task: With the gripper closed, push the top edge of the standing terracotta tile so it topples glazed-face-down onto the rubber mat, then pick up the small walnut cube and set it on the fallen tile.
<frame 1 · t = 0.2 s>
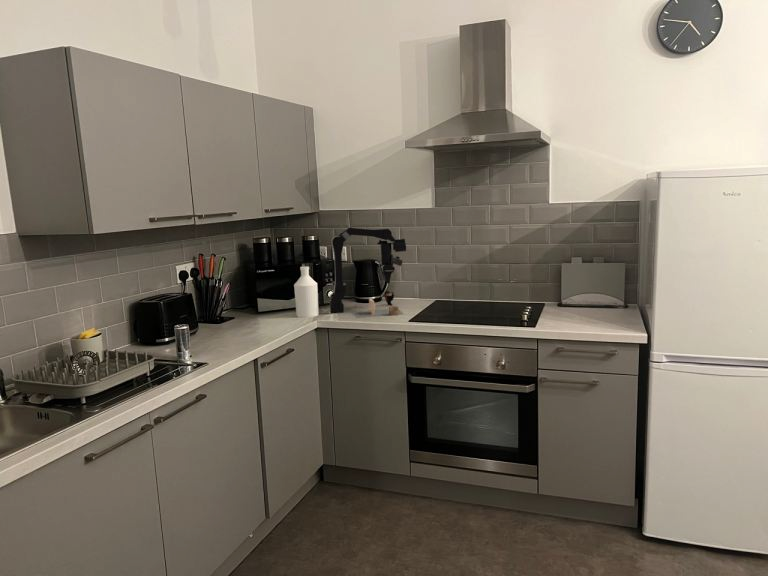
hand: (387, 282, 318), 14 cm above the countertop, tool pointing down, fingers open, 9 cm apart
tile: (371, 313, 308), resting on mat
mat: (377, 313, 309), on the countertop
bottle: (307, 315, 314), on the countertop
figurine: (390, 307, 327), on the countertop
cube: (393, 314, 303), on the countertop, touching mat
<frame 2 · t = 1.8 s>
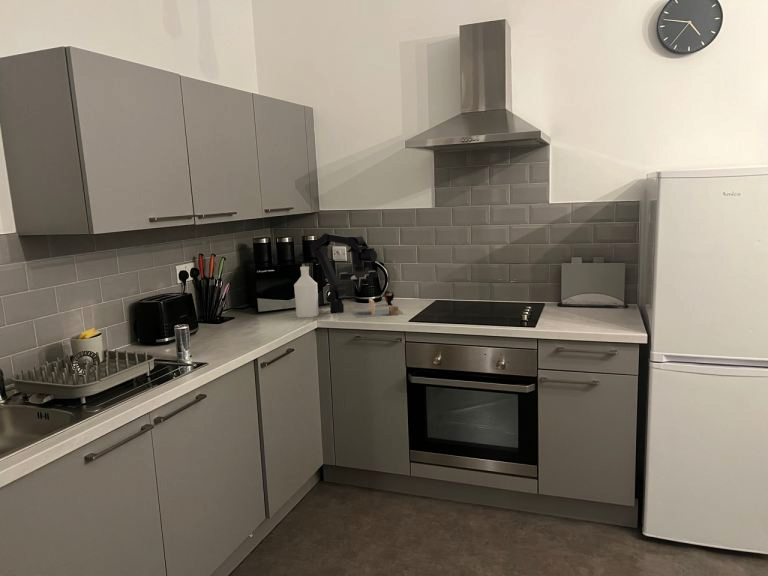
hand: (359, 291, 305), 12 cm above the countertop, tool pointing down, fingers closed
nothing on the countertop moved.
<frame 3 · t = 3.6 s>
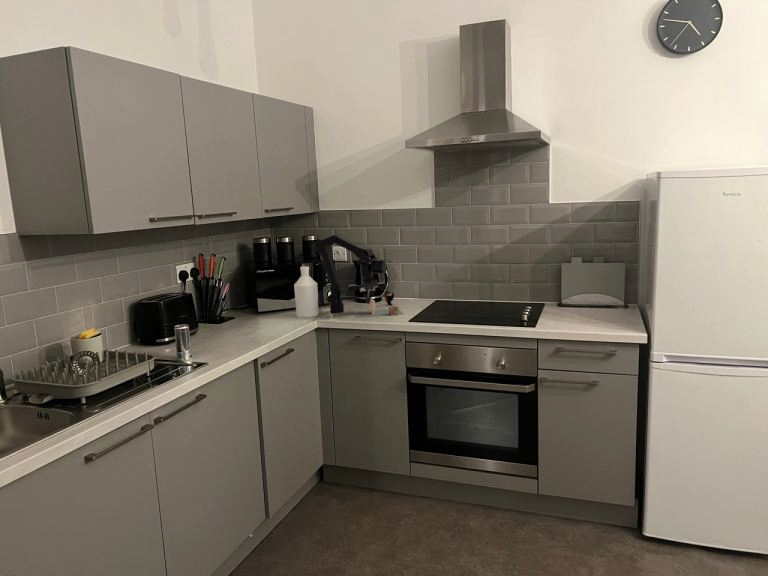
hand: (368, 303, 307), 6 cm above the countertop, tool pointing down, fingers closed
tile: (371, 313, 308), point 1 cm above the countertop, touching gripper, mat
everything else where it was.
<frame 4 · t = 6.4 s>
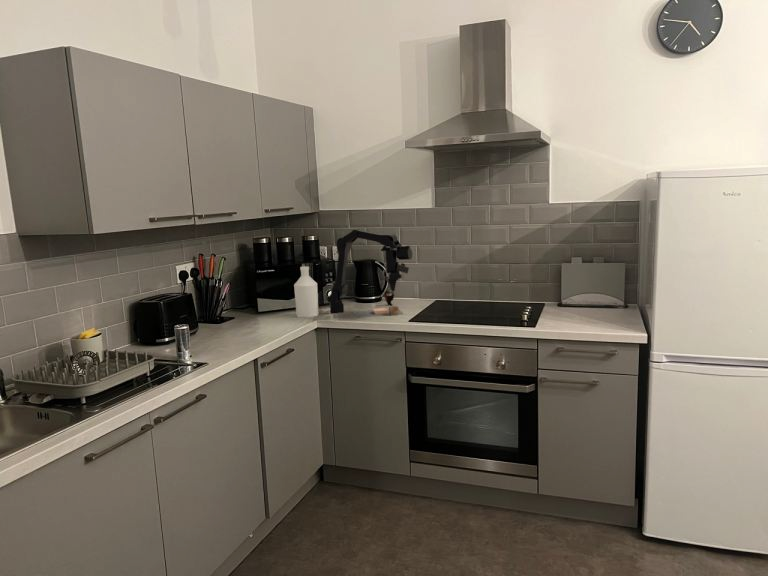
hand: (392, 291, 301), 12 cm above the countertop, tool pointing down, fingers closed
tile: (373, 311, 308), point 1 cm above the countertop, tilted 90°, touching mat
everything else where it was.
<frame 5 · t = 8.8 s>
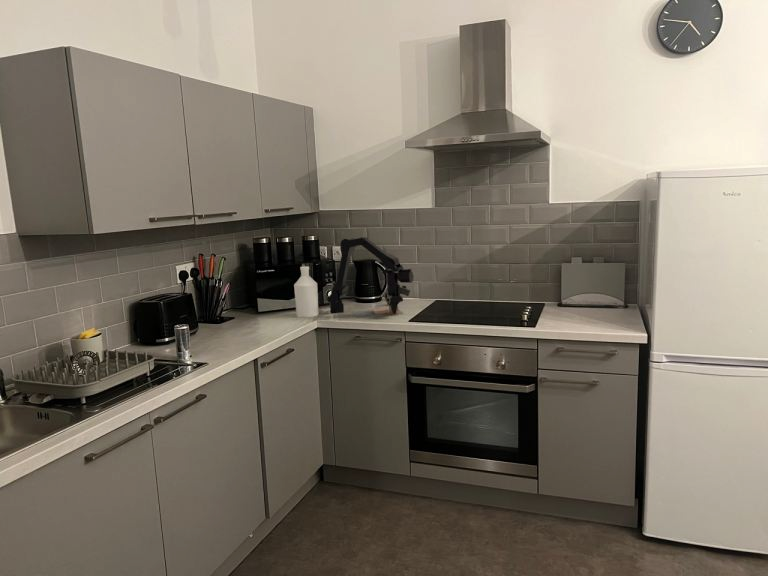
hand: (393, 313, 303), 1 cm above the countertop, tool pointing down, fingers closed on cube, 4 cm apart
cube: (393, 314, 303), on the countertop, touching gripper, mat
everything else where it was.
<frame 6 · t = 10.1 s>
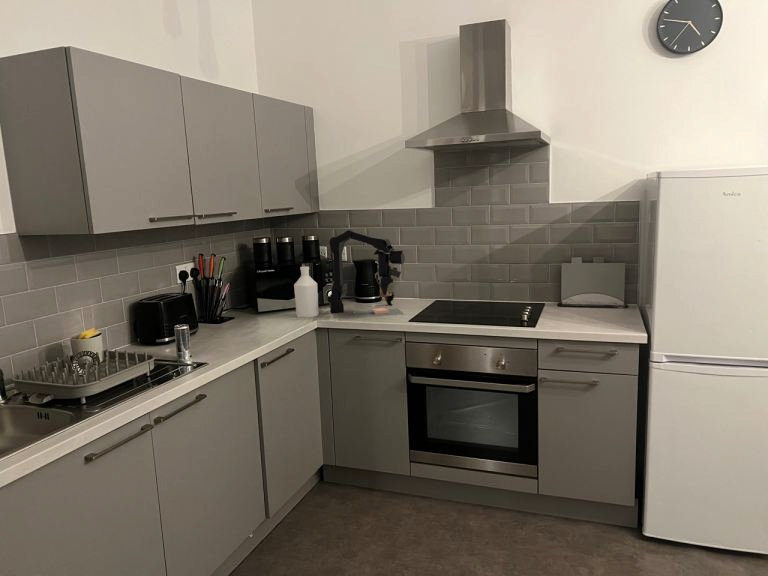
hand: (384, 294, 305), 10 cm above the countertop, tool pointing down, fingers closed on cube, 4 cm apart
cube: (384, 295, 305), point 10 cm above the countertop, touching gripper
everything else where it was.
when the fingers open (4 cm above the countertop, at t = 11.8 s): cube drops 2 cm, resting on tile.
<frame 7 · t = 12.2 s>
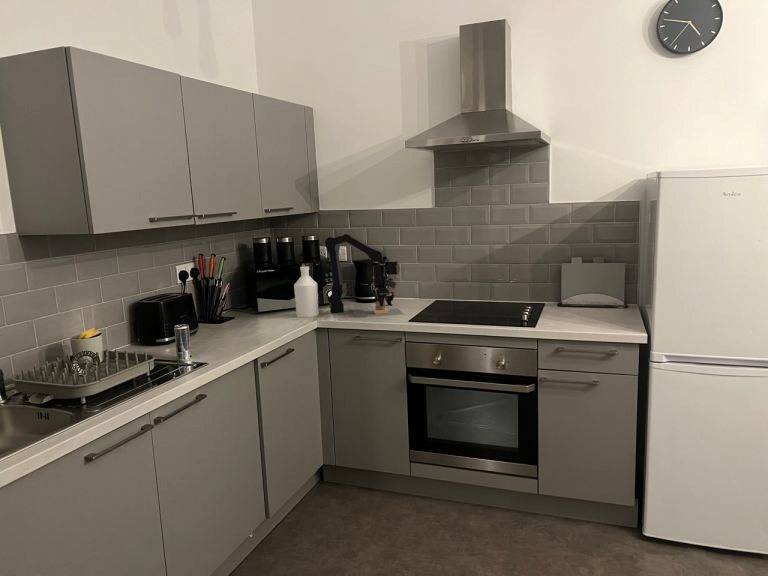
hand: (380, 305, 308), 4 cm above the countertop, tool pointing down, fingers open, 8 cm apart
tile: (373, 311, 308), point 1 cm above the countertop, tilted 90°, touching cube, mat
cube: (380, 309, 309), point 2 cm above the countertop, touching tile
everything else where it was.
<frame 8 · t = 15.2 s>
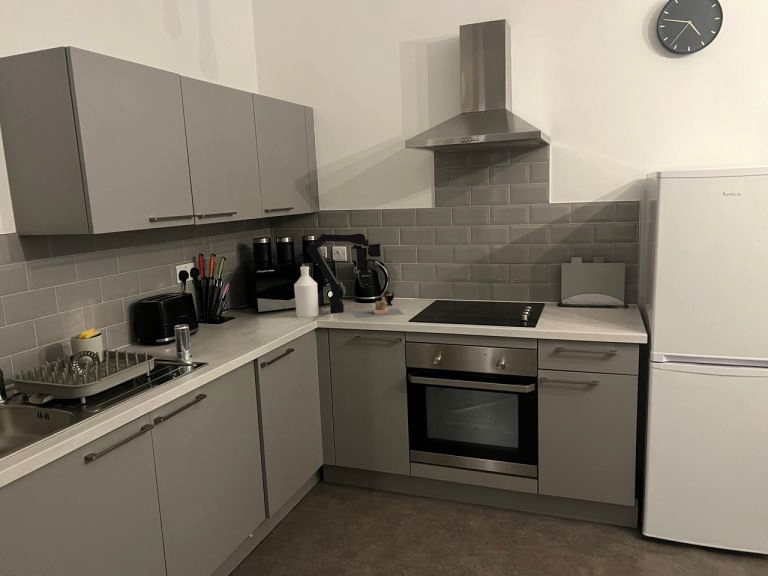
hand: (363, 287, 312), 13 cm above the countertop, tool pointing down, fingers open, 9 cm apart
nothing on the countertop moved.
at the end: tile tilted 90°; cube inside the target area (0.5 cm from its centre), point 2.1 cm above the countertop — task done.
